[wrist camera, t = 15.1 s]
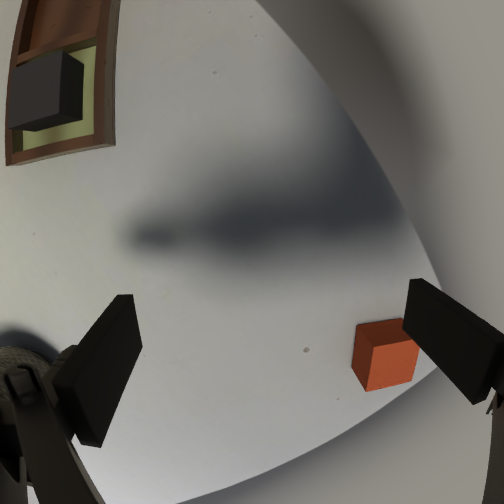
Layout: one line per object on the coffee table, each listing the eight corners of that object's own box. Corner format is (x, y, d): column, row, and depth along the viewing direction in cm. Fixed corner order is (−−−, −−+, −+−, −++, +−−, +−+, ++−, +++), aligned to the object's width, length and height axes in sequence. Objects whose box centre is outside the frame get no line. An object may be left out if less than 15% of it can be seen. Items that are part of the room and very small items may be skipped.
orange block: (401, 317, 31) (422, 337, 27) (394, 359, 32) (411, 381, 28) (356, 325, 31) (373, 347, 26) (351, 367, 32) (365, 392, 28)
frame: (126, -39, 19) (119, -51, 16) (115, 145, 24) (104, 143, 22) (37, -9, 18) (26, -17, 16) (20, 165, 24) (5, 166, 21)
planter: (42, 312, 28) (-25, 378, 15) (110, 408, 32) (79, 490, 19) (-17, 343, 28) (-70, 396, 16) (42, 423, 32) (8, 485, 20)
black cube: (84, 64, 21) (62, 49, 17) (82, 120, 23) (58, 113, 18) (36, 79, 21) (11, 69, 17) (34, 132, 22) (7, 129, 18)
